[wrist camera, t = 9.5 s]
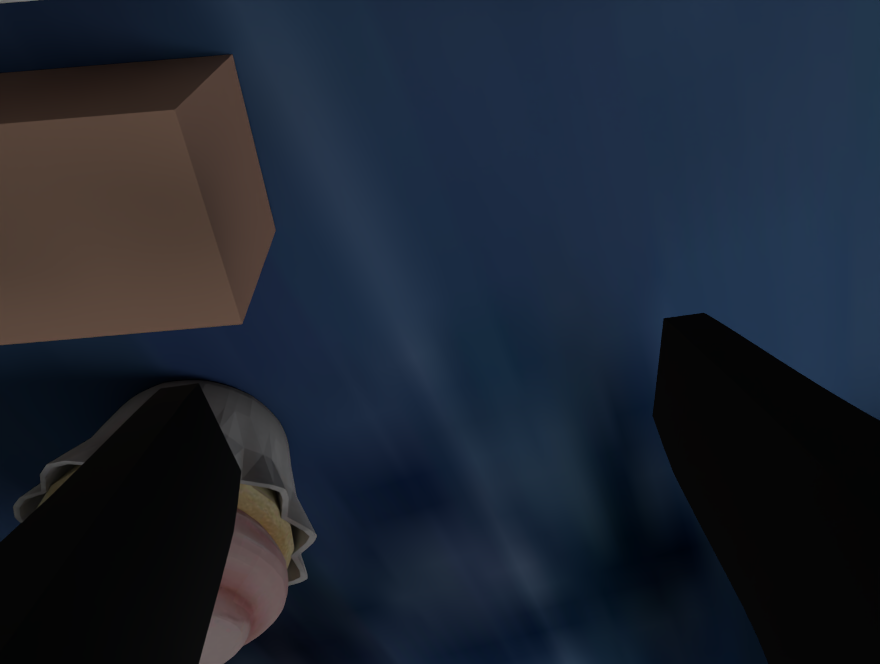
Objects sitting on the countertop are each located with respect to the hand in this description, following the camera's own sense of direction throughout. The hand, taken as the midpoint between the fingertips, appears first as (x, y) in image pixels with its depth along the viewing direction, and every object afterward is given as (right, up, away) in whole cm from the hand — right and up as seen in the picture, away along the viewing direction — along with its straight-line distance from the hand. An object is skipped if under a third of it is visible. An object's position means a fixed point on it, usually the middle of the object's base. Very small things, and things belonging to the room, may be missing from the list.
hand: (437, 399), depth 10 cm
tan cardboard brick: (-10, +6, +7) cm, 13 cm away
